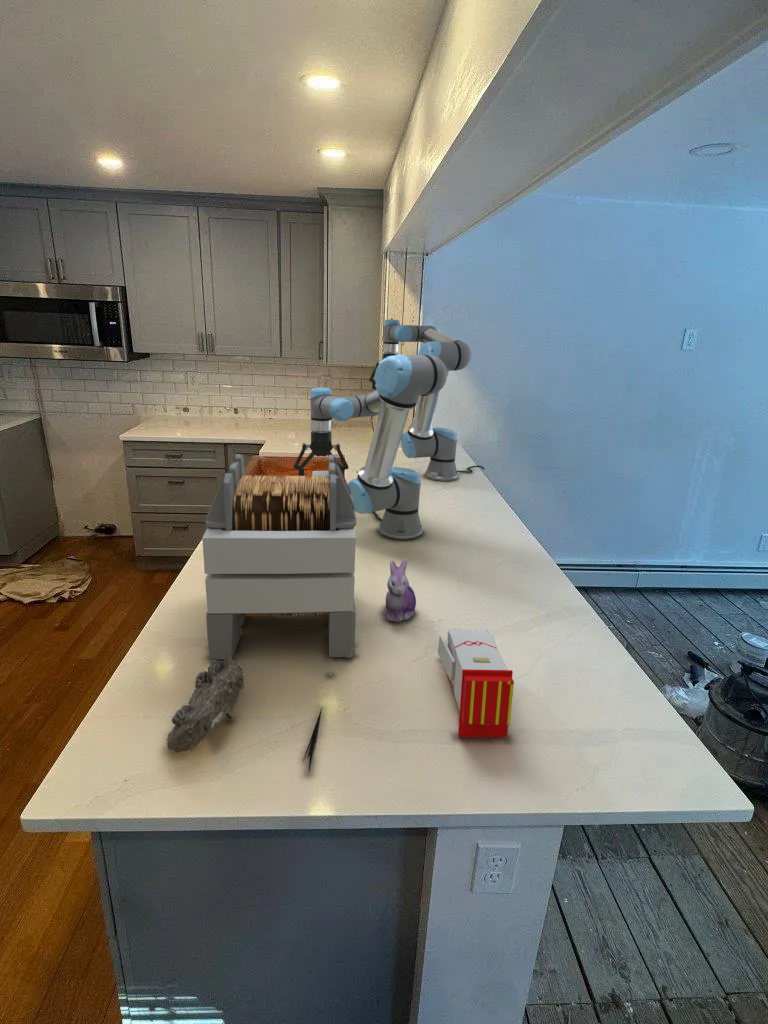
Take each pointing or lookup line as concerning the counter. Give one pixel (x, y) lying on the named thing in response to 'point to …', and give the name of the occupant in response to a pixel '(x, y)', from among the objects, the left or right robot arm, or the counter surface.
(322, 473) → the cosmetic box
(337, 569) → the record storage crate
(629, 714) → the counter surface
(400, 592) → the figurine
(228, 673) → the fossil
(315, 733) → the feather
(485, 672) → the toy
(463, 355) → the right robot arm
